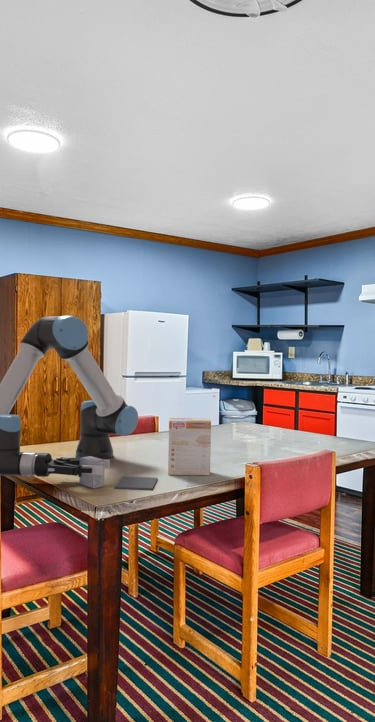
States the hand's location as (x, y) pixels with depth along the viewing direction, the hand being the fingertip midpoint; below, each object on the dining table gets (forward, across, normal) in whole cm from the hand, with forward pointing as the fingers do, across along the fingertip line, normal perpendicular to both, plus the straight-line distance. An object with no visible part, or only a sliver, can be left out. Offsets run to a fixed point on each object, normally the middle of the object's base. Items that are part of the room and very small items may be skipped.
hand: (106, 467), depth 169 cm
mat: (+9, -4, -6) cm, 12 cm away
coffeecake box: (+25, -22, -6) cm, 34 cm away
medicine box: (-5, 0, -6) cm, 8 cm away
